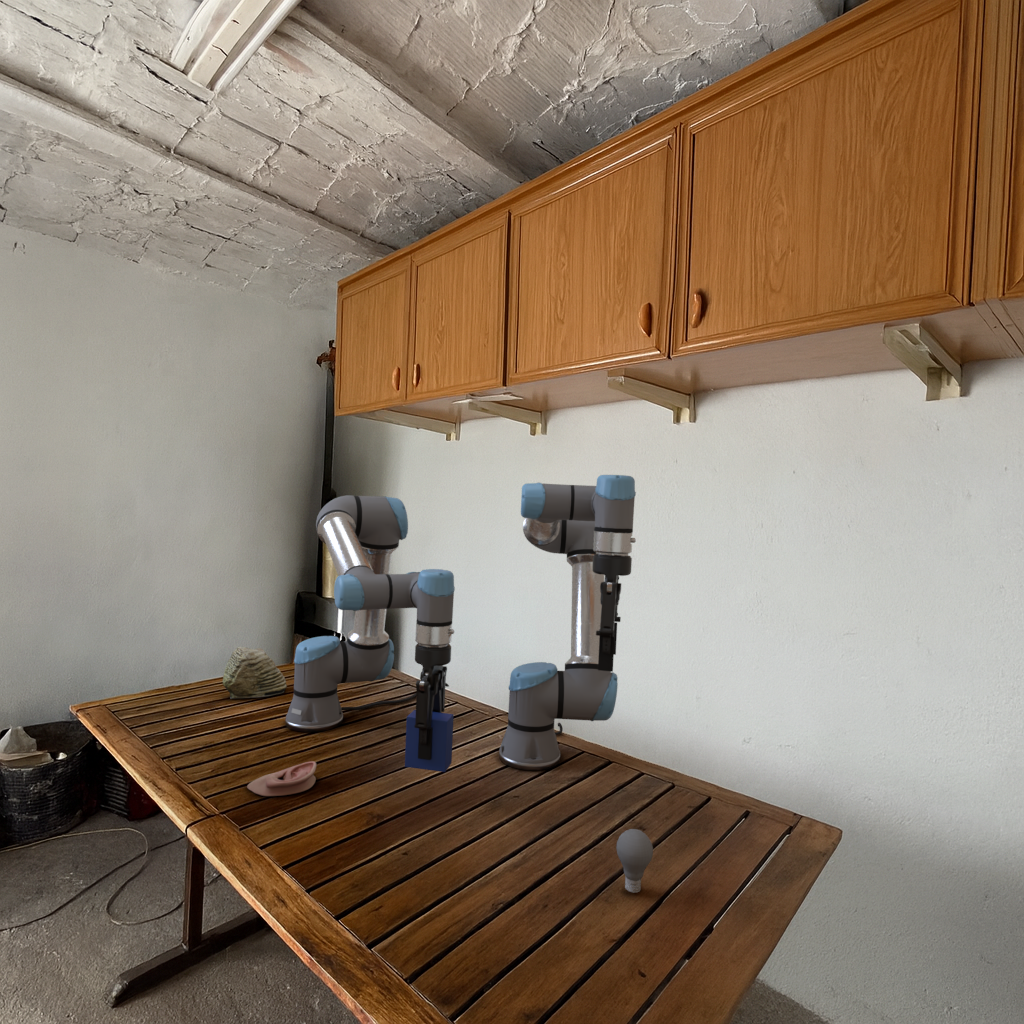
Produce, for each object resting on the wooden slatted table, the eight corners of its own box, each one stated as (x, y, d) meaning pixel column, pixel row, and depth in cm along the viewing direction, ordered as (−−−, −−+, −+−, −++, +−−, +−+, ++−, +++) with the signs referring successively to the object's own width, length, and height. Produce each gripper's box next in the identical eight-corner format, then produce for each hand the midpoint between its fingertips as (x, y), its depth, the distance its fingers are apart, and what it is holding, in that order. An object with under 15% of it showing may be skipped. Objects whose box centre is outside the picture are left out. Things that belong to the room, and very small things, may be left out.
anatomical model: (239, 773, 134) (270, 753, 145) (238, 792, 134) (269, 770, 145) (296, 782, 131) (323, 760, 142) (295, 801, 131) (323, 777, 142)
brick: (404, 766, 132) (406, 716, 132) (412, 758, 137) (414, 709, 136) (445, 772, 130) (447, 721, 130) (451, 763, 135) (453, 714, 135)
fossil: (218, 695, 195) (220, 647, 195) (278, 685, 208) (279, 640, 207) (228, 703, 189) (230, 653, 188) (289, 692, 201) (290, 645, 201)
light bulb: (610, 879, 108) (613, 822, 108) (644, 879, 109) (647, 822, 109) (619, 902, 102) (622, 840, 102) (655, 901, 103) (658, 840, 103)
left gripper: (437, 655, 124) (432, 773, 124) (462, 636, 141) (457, 740, 141) (401, 651, 125) (396, 768, 126) (430, 633, 142) (425, 736, 143)
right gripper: (630, 560, 111) (625, 680, 111) (632, 550, 135) (628, 649, 136) (587, 557, 112) (582, 676, 113) (597, 548, 137) (592, 646, 137)
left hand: (428, 753), depth 133 cm, fingers closed on brick, 5 cm apart
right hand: (607, 661), depth 124 cm, fingers open, 13 cm apart
